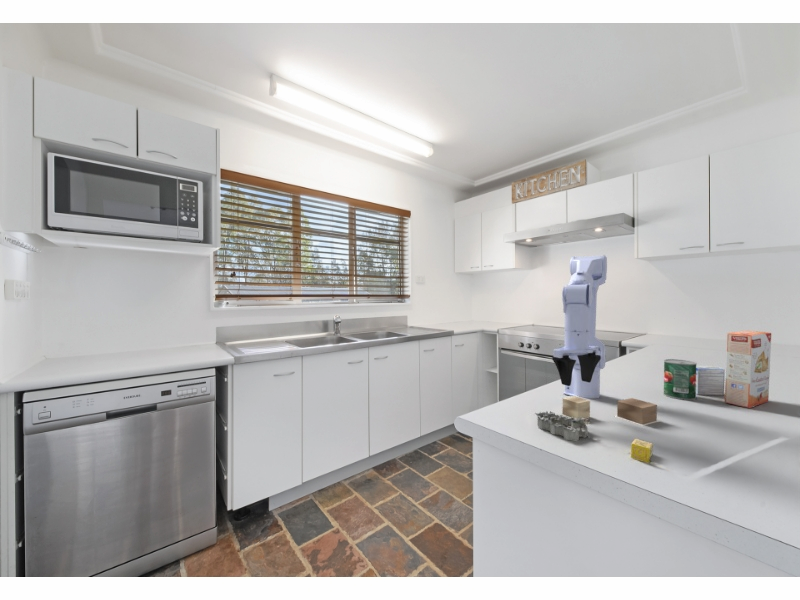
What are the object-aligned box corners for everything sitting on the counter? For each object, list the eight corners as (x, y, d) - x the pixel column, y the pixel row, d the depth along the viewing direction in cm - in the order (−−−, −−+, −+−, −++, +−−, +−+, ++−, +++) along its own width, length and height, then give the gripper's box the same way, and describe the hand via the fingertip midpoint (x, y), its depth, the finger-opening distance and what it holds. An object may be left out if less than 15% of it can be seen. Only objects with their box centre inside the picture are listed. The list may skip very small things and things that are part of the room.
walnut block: (617, 416, 88) (617, 401, 88) (631, 412, 90) (631, 397, 90) (642, 424, 82) (642, 408, 82) (656, 420, 85) (656, 404, 85)
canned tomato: (657, 392, 112) (658, 358, 111) (684, 393, 110) (685, 359, 110) (673, 399, 104) (674, 363, 103) (702, 400, 103) (703, 364, 102)
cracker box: (751, 409, 95) (753, 334, 94) (723, 403, 100) (724, 332, 100) (771, 402, 101) (772, 331, 101) (743, 396, 107) (744, 329, 106)
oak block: (562, 417, 90) (562, 398, 89) (574, 414, 91) (574, 396, 91) (577, 423, 85) (577, 403, 85) (589, 420, 87) (590, 400, 87)
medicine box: (713, 392, 112) (713, 365, 112) (724, 396, 107) (725, 368, 107) (687, 391, 112) (687, 365, 112) (697, 395, 108) (698, 368, 108)
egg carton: (593, 437, 77) (593, 419, 77) (570, 444, 74) (570, 425, 74) (553, 421, 87) (553, 405, 87) (531, 426, 84) (532, 410, 84)
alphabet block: (652, 458, 67) (652, 442, 67) (649, 463, 65) (649, 448, 65) (634, 452, 70) (634, 438, 70) (630, 458, 67) (630, 443, 67)
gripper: (570, 334, 81) (570, 390, 82) (610, 331, 87) (609, 383, 88) (546, 331, 88) (546, 383, 88) (584, 328, 94) (584, 377, 94)
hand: (576, 383), depth 88 cm, fingers open, 7 cm apart
